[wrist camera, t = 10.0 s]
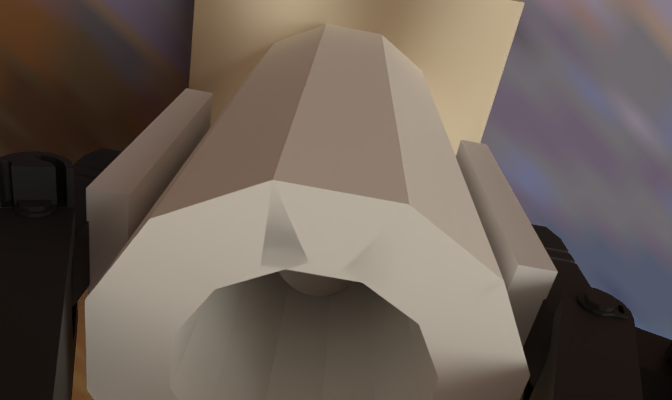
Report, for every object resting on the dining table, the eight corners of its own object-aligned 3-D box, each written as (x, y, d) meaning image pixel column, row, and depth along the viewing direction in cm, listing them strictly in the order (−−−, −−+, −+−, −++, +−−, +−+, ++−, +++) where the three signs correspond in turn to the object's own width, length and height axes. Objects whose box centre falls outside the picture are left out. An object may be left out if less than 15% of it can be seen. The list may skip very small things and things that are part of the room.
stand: (190, 207, 23) (70, 414, 13) (210, -64, 18) (53, -44, 9) (434, 251, 23) (485, 479, 14) (512, -4, 19) (667, 77, 9)
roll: (230, 194, 21) (89, 490, 10) (250, 8, 18) (80, 145, 7) (407, 225, 21) (454, 546, 10) (455, 48, 18) (592, 237, 7)
